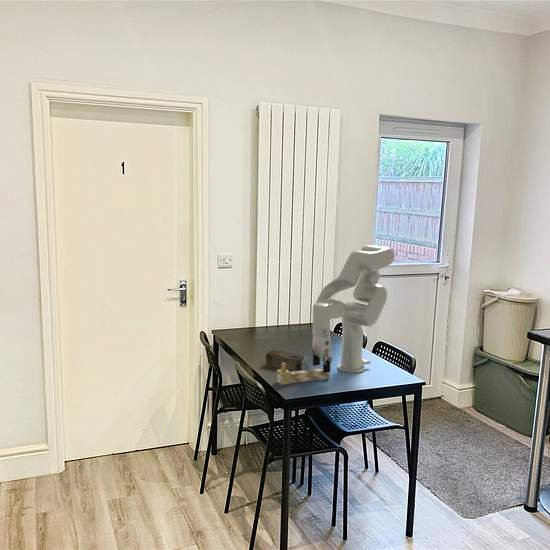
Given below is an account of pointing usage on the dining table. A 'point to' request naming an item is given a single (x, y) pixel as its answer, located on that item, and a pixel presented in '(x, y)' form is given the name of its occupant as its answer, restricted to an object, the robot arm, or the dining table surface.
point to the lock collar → (284, 374)
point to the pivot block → (279, 378)
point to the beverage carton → (287, 360)
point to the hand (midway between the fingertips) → (321, 368)
